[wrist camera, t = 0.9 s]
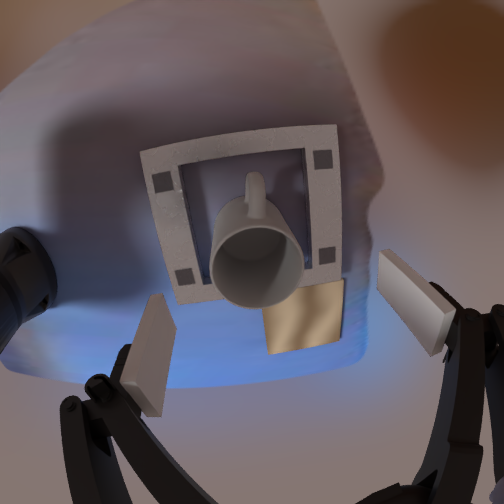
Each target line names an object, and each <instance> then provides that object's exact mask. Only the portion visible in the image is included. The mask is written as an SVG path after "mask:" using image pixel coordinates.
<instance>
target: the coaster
mask: <svg viewBox="0 0 504 504" xmlns="http://www.w3.org/2000/svg"><path fill="white" fill-rule="evenodd" d="M343 286H344V279H343V278H341V280H338V281H333V282H327V283H322V284H316V285H311V286H305V287H299V288H297V289H296V290H295V291H294V292H293V293H292V294H291V295H290V296H289V297H288V298H287V299H285V300H284V301H282V302H281V303H279V304H277V305H274V306H271V307H268V308H263V309H262V313H263V320H264V328H265V335H266V343H267V350H268V355H270V354H276V353H282V352H287V351H293V350H298V349H304V348H309V347H314V346H318V345H323V344H328V343H332V342H336V341H339V338H340V328H341V316H342V303H343Z"/></svg>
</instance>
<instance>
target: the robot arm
mask: <svg viewBox="0 0 504 504" xmlns="http://www.w3.org/2000/svg"><path fill="white" fill-rule="evenodd" d="M377 290H378V291H379V292H380V293H381V295H382V296H383V297H384V298H385V299H386V301H387V302H388V303H389V304H390V305H391V307H392V308H393V309H394V310H395V312H396V313H397V314H398V315H399V316H400V318H401V319H402V320H403V322H404V323H405V324H406V325H407V327H408V328H409V329H410V331H411V332H412V333H413V334H414V336H415V337H416V338H417V339H418V341H419V342H420V343H421V345H422V346H423V347H424V349H425V350H426V352H427V353H428V354H429V356H430V357H431V356H433V355H435V354H438V353H439V352H441V351H442V349H443V346H444V344H446V345H447V346H448V350H447V352H446V354H445V357H444V359H443V363H444V362H445V369H444V376H443V383H442V389H441V394H440V400H439V405H438V409H437V414H436V418H435V422H434V427H433V430H432V434H431V438H430V441H429V445H428V448H427V451H426V454H425V457H424V460H423V463H422V466H421V468H420V470H419V471H418V473H417V474H416V476H415V478H414V480H413V482H412V485H403V486H400V484H399V483H396V484H394V485H392V486H389V487H387V488H385V489H382V490H379V491H377V492H375V493H372V494H371V495H369V496H367V497H366V498H364V499H363V500H361V501H359V502H357V503H356V504H472V503H471V500H472V496H473V493H474V490H475V486H476V483H477V479H478V475H479V471H480V467H481V462H482V457H483V446H481V445H479V438H480V432H481V424H482V415H483V405H484V391H485V387H486V393H487V399H488V405H489V412H490V419H491V428H492V439H493V462H494V474H495V482H496V485H495V488H494V490H493V491H492V492H491V494H490V497H489V499H490V501H491V502H493V503H492V504H504V305H501V304H496V305H494V306H493V307H492V309H491V312H490V313H487V314H480V313H479V312H478V311H477V310H475V309H472V308H466V309H464V308H463V307H462V306H461V305H460V304H459V303H458V302H457V301H456V300H455V299H454V298H453V297H452V296H449V294H448V293H447V292H445V290H444V289H443V288H442V287H441V286H439V285H437V284H436V283H433V282H429V283H428V282H427V281H426V280H425V279H424V278H423V277H421V276H420V275H419V274H418V273H417V272H416V271H415V270H413V269H412V268H411V267H410V266H409V265H408V264H407V263H405V262H404V261H403V260H402V259H401V258H399V257H398V256H397V255H396V254H395V253H394V252H393V251H391V250H390V249H387V250H383V251H379V266H378V280H377ZM56 293H57V280H56V275H55V271H54V268H53V265H52V263H51V260H50V258H49V256H48V255H47V253H46V251H45V250H44V248H43V247H42V245H41V244H40V243H39V242H38V240H37V239H36V238H35V237H34V236H32V235H31V234H30V233H29V232H27V231H25V230H23V229H21V228H16V227H13V228H9V229H7V230H5V231H4V232H2V233H0V354H1V353H2V351H3V350H4V348H5V347H6V345H7V344H8V342H9V341H10V339H11V338H12V337H13V335H14V334H15V332H16V331H17V330H18V328H19V327H20V326H21V325H22V324H23V323H25V322H27V321H29V320H31V319H32V318H34V317H36V316H38V315H40V314H42V313H44V312H45V311H46V310H47V309H48V308H49V306H50V305H51V304H52V303H53V301H54V299H55V297H56ZM176 330H177V328H176V326H175V324H174V321H173V319H172V316H171V314H170V311H169V309H168V306H167V304H166V301H165V299H164V296H163V293H159V294H153V295H150V298H149V300H148V303H147V305H146V308H145V310H144V313H143V316H142V318H141V321H140V324H139V326H138V329H137V332H136V334H135V337H134V340H133V343H132V344H125V345H124V346H123V347H122V349H121V350H120V351H119V353H118V356H117V360H116V361H115V364H114V365H115V366H114V367H113V370H112V372H111V375H110V378H109V377H108V376H107V375H105V374H96V375H94V376H92V377H91V378H90V379H88V381H87V382H86V384H85V392H86V393H87V395H88V396H89V397H90V398H91V399H90V400H86V401H81V400H80V398H78V397H77V396H74V395H73V396H69V397H67V398H65V399H64V400H63V401H62V403H61V405H60V424H61V436H62V445H63V453H64V461H65V467H66V473H67V478H68V483H69V488H70V493H71V497H72V501H73V504H133V503H132V501H131V498H130V496H129V493H128V490H127V488H126V485H125V482H124V479H123V476H122V473H121V471H120V467H119V464H118V461H117V458H116V455H115V451H114V447H113V444H112V440H111V436H113V438H114V440H115V441H116V443H117V445H118V446H119V448H120V450H121V451H122V453H123V454H124V456H125V457H126V459H127V461H128V462H129V464H130V465H131V466H132V468H133V470H134V471H135V472H136V474H137V475H138V477H139V478H140V479H141V481H142V482H143V484H144V485H145V486H146V488H147V489H148V490H149V491H150V493H151V494H152V495H153V497H154V498H155V499H156V500H157V502H158V503H159V504H218V503H217V502H216V501H215V500H214V499H213V498H212V497H211V496H209V495H208V494H207V493H206V492H205V491H204V490H203V489H202V488H201V487H200V486H199V485H198V484H197V483H196V482H195V481H194V480H193V479H192V478H191V477H190V476H189V475H188V474H187V473H186V472H185V471H184V470H183V468H182V467H181V466H180V465H179V464H178V463H177V462H176V461H175V460H174V458H173V457H172V456H171V455H170V454H169V453H168V452H167V450H166V449H165V448H164V447H163V445H162V444H161V443H160V442H159V441H158V439H157V438H156V437H155V436H154V434H153V433H152V432H151V430H150V429H149V428H148V427H147V425H146V424H145V423H144V421H143V420H142V419H141V418H140V416H141V411H142V412H143V413H144V414H145V415H146V416H147V417H161V416H162V409H163V403H164V396H165V390H166V384H167V378H168V372H169V367H170V361H171V356H172V350H173V345H174V340H175V335H176ZM498 345H499V346H498ZM445 360H446V361H445Z"/></svg>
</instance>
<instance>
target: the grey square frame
mask: <svg viewBox="0 0 504 504" xmlns="http://www.w3.org/2000/svg"><path fill="white" fill-rule="evenodd" d="M295 148H301V156H302V167H303V178H304V191H305V205H306V220H307V238H308V261H309V262H305V265H304V273H303V277H302V280H301V282H300V284H299V286H298V287H297V288H299V287H305V286H311V285H316V284H322V283H327V282H333V281H338V280H341V265H342V202H341V177H340V160H339V146H338V134H337V124H333V125H307V126H292V127H279V128H269V129H259V130H251V131H243V132H235V133H228V134H222V135H215V136H209V137H204V138H198V139H193V140H188V141H183V142H178V143H173V144H169V145H164V146H160V147H156V148H151V149H147V150H143V151H139V152H140V157H141V162H142V168H143V173H144V178H145V183H146V187H147V192H148V196H149V201H150V205H151V210H152V214H153V218H154V222H155V226H156V230H157V234H158V238H159V242H160V246H161V249H162V253H163V257H164V260H165V264H166V267H167V271H168V274H169V277H170V281H171V284H172V287H173V290H174V294H175V297H176V300H177V303H178V305H181V304H190V303H198V302H206V301H213V300H221V299H224V298H223V297H222V296H221V295H220V294H219V293H218V292H217V290H216V289H215V287H214V285H213V283H212V281H211V277H204V274H203V270H202V266H201V262H200V257H199V253H198V248H197V244H196V239H195V235H194V230H193V225H192V220H191V216H190V211H189V206H188V201H187V196H186V190H185V185H184V180H183V174H182V169H181V165H182V164H187V163H193V162H198V161H204V160H209V159H215V158H222V157H228V156H235V155H242V154H249V153H257V152H265V151H274V150H284V149H295Z"/></svg>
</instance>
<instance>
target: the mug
mask: <svg viewBox="0 0 504 504" xmlns="http://www.w3.org/2000/svg"><path fill="white" fill-rule="evenodd" d="M304 265H305V262H304V256H303V252H302V249H301V247H300V245H299V243H298V241H297V240H296V238H295V236H294V235H293V233H292V232H291V230H290V228H289V227H288V225H287V224H286V222H285V220H284V218H283V217H282V215H281V213H280V211H279V210H278V209H277V207H276V206H275V205H274V204H272V203H271V202H270V201H268V200H267V199H266V191H265V182H264V178H263V176H262V175H261V174H260V173H259V172H249V173H248V174H247V175H246V182H245V196H241V197H238V198H235V199H233V200H231V201H230V202H228V203H227V204H226V205H224V207H223V208H222V209H221V210H220V212H219V213H218V215H217V217H216V220H215V224H214V233H213V241H212V248H211V255H210V264H209V270H210V277H211V281H212V283H213V285H214V287H215V289H216V290H217V292H218V293H219V294H220V295H221V296H222V297H223V298H224V299H225V300H227V301H228V302H230V303H232V304H233V305H236V306H238V307H242V308H247V309H263V308H268V307H271V306H274V305H277V304H279V303H281V302H282V301H284V300H285V299H287V298H288V297H289V296H290V295H291V294H292V293H293V292H294V291H295V290H296V289H297V287H298V286H299V284H300V282H301V280H302V277H303V273H304Z"/></svg>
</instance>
